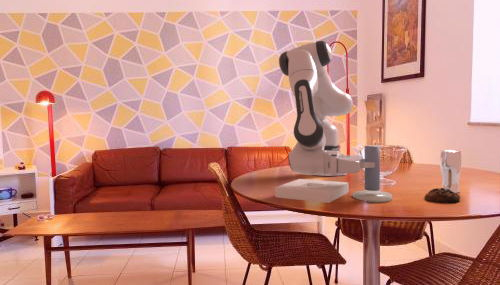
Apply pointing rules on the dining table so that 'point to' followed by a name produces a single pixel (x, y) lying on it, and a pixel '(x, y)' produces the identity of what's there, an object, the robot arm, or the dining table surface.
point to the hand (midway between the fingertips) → (374, 163)
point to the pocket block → (312, 190)
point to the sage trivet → (373, 196)
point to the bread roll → (442, 196)
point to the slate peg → (372, 173)
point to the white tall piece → (450, 169)
